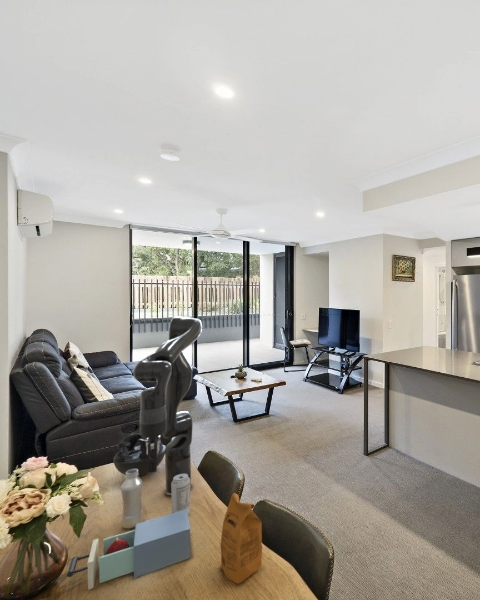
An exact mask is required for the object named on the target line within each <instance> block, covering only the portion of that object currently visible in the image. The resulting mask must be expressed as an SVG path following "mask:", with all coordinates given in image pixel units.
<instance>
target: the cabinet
mask: <svg viewBox="0 0 480 600" xmlns="http://www.w3.org/2000/svg"><path fill="white" fill-rule="evenodd" d="M189 518H190V517H189V514H188V510H187V509H186V510H182V511H179V512H176V513H172V512H171V513H169V514H166V515H162V516H158V517H154V518H151V519H147V520H143V521H142V522H141V523H137V524H136V527H134V530H135V537H134V571H133V578H138V577H142V576H145V575H146V574H149V573H152V572H155V571H158V570H161V569H163V568H167V567H169V566H172V565H175V564H178V563H180V562H182V561H186V560H188V559H191V527H190V525H191V524H190V519H189Z"/></svg>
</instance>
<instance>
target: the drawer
mask: <svg viewBox="0 0 480 600" xmlns="http://www.w3.org/2000/svg"><path fill="white" fill-rule="evenodd" d="M134 537H135V529H132V530H129V531H125V532H122V533H119V534H116V535H115V534H114V535H112V536H108V537H105V538H103V539H102V544H103V545H102V546H103V550H102V551H103V552H102V553H103V554H102V556H100V554H99V552H100V551H99V550H100V549H99V538H94V539H93V540H92V544H91V548H90V552H89V553H88V554H85V555H81V556H78V555H77V556H73V557H72V558H71V560H70V563H69V567H68V570H67V574H66V577H67V578H71V577H73V576H74V575H75V574H78V573H80V572H83V571H86V570H87V591H88V590H91V589H94V588H95V582H96V578H97V573H99V584H102V583H105V582H107V581H110V580H113V579H116V578H120V577H122V576H125V575H127V574H130V573H131V574H132V573H134ZM116 538H119V539H120V540H125V541H127V543H128V544H129V547H130V548H127V549H123V550H120V551H117V552H114V553H111V554H108V555H106V552H107V549H108V548H109V546H110V545H111V544H112V543H114V542H115V539H116ZM87 558H88V559H87ZM84 559H87V566H83V567H81V568H77V565H78V561H82V560H84ZM76 568H77V569H76ZM98 568H99V572H98Z"/></svg>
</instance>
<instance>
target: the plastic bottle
mask: <svg viewBox="0 0 480 600" xmlns="http://www.w3.org/2000/svg"><path fill="white" fill-rule="evenodd" d="M124 477H125V479H124V481H123V482H122V483H121V487H120V491H121V496H122V506H123V507H122V515H121V516H122V517H121V525H122V527H123V528H125V529H134V528H135V527H136V524H137V523H141V522H144V518H145V517H144V515H145V514H144V510H143V503H142V494H143V485H144V482H143V480H142V479H141V478H140V476H138V469H132V470H129V471H127V472H126V475H124Z"/></svg>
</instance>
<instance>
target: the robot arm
mask: <svg viewBox="0 0 480 600" xmlns="http://www.w3.org/2000/svg"><path fill="white" fill-rule="evenodd" d="M202 328H203V325H202V321H201V320H200V319H199V318H194V317H186V316H185V317H184V316H183V317H182V316H174V317H173V318H171V320H170V322H169V325H168V340H166V341H165V342H163V343H162V344H161V345H160V346H159V347H158V348H157V349H156V350H155V351H154V352H153V353H151V354H148V355H147V356H146V357H144V358H142V359H141V360H139V361H138V363H136V365H135V366H134V368H133V377H134V379H135V380H136V381H137V382H140V383H156V385H155V386H153V387H149V388H145V389H143V390H142V391H141V393H140V408H139V409H140V410H139V433H140V435H141V436H143V437H142V438H145V440H146V447H147V455H148V460H147V462H149V473H148V474H152V473H155V472H157V471H158V466H157V460H158V453H159V445H160V442H161V437H162V438H163V439H166V440H168V439H172V440H171V441H169V442H168V444H166V445H165V447H166V448H165V455H164V461H165V463H164V465H165V467H164V469H165V490H164V491H165V496H170V497H172V492H171V483H172V481H173V478H174V477H175V476H176V475H179V474H188V477H189V478H190V489H191V488H192V473H191V472H192V470H191V467H192V466H191V465H192V464H191V463H192V462H191V460H192V459H191V445H192V442H193V426H194V425H193V417H192V415H191V414H190V412H189V411H185V410H184V411H179V412H178V409H179V406H180V404H181V402H182V401H183V399H184V398H185V396H186V395H187V393H188V392H189V390H190V388H191V385H192V381H193V380H192V379H193V368H192V365H191V363H190V362H189V360H188V358H187V357H186V355H185V354H184V352H183V351H184V350H186V349H187V348H189V346H192V344H193V343H195V341H196V340H198V338H199V337H200V336H201V333H202V330H203V329H202Z"/></svg>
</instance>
